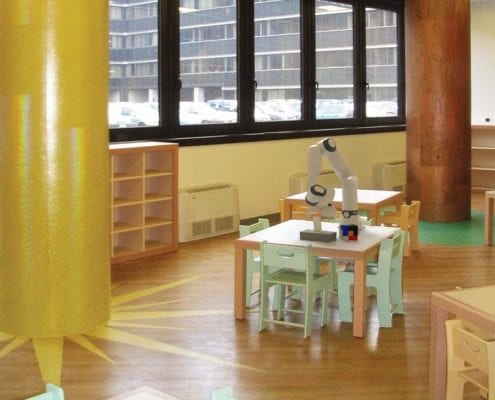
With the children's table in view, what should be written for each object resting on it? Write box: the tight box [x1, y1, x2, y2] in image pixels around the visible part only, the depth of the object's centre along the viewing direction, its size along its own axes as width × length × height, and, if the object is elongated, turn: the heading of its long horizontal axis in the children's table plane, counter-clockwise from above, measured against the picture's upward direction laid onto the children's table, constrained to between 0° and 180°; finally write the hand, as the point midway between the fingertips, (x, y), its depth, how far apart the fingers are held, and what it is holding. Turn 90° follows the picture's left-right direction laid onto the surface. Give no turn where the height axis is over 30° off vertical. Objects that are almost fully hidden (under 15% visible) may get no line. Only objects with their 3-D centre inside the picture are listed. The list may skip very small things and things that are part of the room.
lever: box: [311, 212, 323, 231], centre depth 564 cm, size 3×6×13 cm, turn 59°
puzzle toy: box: [338, 223, 359, 242], centre depth 566 cm, size 10×10×10 cm
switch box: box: [299, 228, 338, 243], centre depth 567 cm, size 12×22×5 cm, turn 59°
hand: (317, 222), depth 566 cm, fingers closed, pressing on lever
